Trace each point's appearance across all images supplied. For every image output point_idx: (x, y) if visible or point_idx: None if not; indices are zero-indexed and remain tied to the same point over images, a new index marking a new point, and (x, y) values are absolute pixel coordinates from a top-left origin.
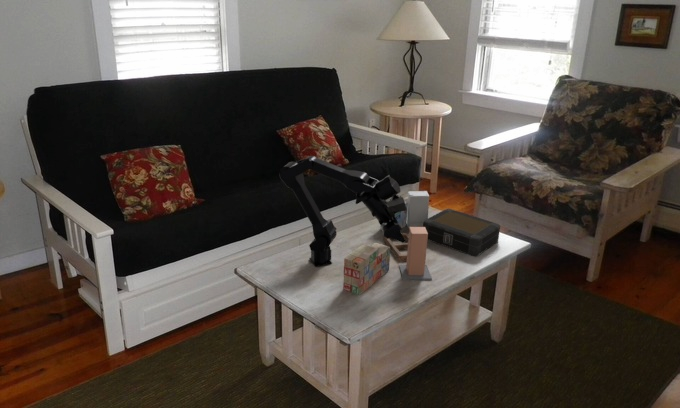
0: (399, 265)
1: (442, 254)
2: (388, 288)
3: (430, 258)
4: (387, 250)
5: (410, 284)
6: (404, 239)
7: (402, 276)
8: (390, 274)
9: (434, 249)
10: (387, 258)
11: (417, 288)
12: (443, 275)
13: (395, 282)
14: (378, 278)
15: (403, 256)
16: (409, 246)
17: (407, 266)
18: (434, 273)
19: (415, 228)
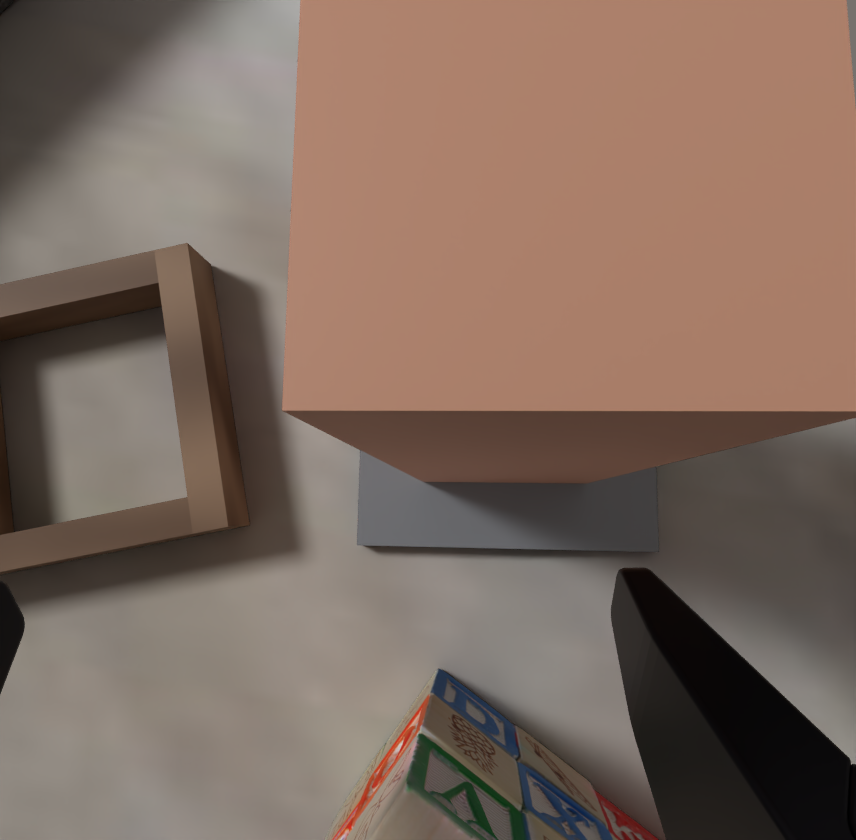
0: (377, 545)
1: (141, 83)
2: (844, 740)
3: (213, 205)
4: (485, 832)
5: (744, 489)
6: (696, 616)
7: (606, 550)
8: (538, 667)
9: (36, 138)
10: (483, 763)
11: (822, 432)
12: None
13: None
14: (631, 819)
15: (224, 479)
16: (545, 460)
17: (493, 480)
18: None
19: (421, 218)
